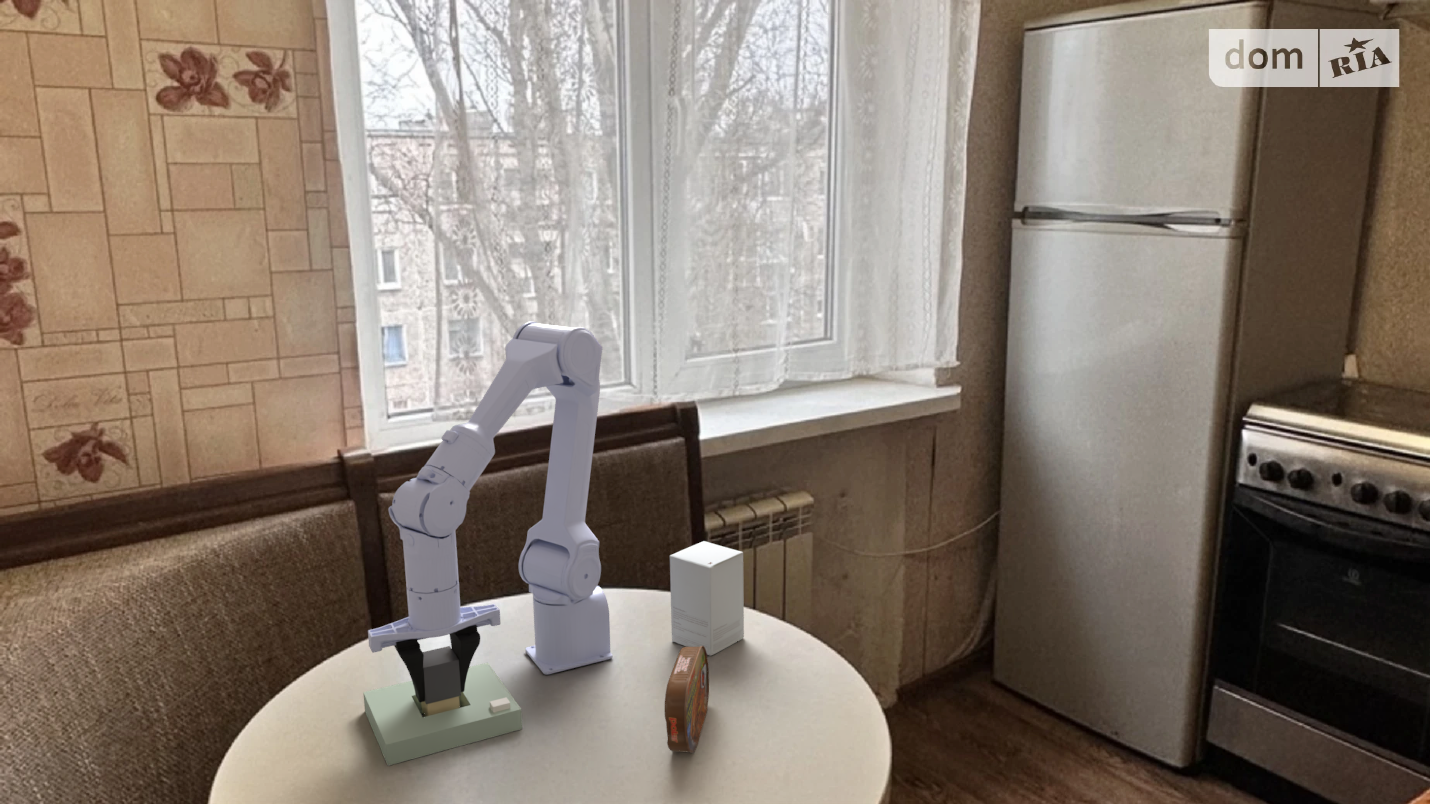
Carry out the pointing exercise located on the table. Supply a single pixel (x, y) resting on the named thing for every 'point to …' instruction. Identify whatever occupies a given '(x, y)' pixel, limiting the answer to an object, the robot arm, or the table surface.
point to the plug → (441, 681)
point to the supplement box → (707, 596)
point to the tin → (687, 699)
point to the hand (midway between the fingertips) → (440, 693)
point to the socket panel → (440, 717)
